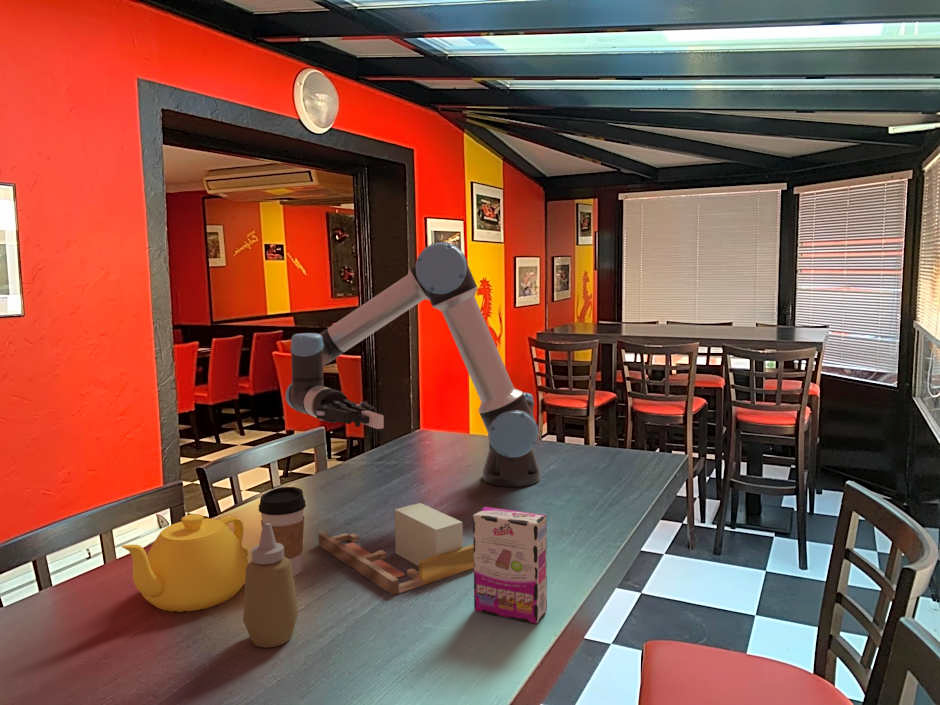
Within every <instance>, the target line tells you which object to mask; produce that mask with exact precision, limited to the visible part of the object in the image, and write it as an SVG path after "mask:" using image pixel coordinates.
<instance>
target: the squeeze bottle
mask: <svg viewBox="0 0 940 705" xmlns="http://www.w3.org/2000/svg"><path fill="white" fill-rule="evenodd" d="M248 563H249V564H248V565H247V567H246V578H245V584H244V596H243V600H244V601H243V613H242V614H243V617H242V618H243V619H242V622H243V624H244V626H245V629H246V631H247V633H248V635H249V637H250V640H251V642H252V644H253V645H254V646H256V647H258V648H265V649H267V648H274V647H278V646H281V645H284V644H286V643H287V642H288V641H290V639H291V638H292V636H293V633H294V629H295V626H296V622H297V619H298V614H299V607H298V600H297V594H296V586H295V580H294V576H293V573H292V566H291V561H290V560H289V559H288V558H286V557H284V546H283V545H282V544H280V543H276V541H275V537H274V534H273V530H272V527H271V524H270V523H265V524H263V526H262V525H261V532H260V539H259V544H257V545H255V546H253V547H252V549H251V561H250V562H248Z"/></svg>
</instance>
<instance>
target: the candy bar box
mask: <svg viewBox="0 0 940 705" xmlns="http://www.w3.org/2000/svg"><path fill="white" fill-rule="evenodd" d="M472 535H473V536H472V538H473V539H472V540H473V542H472V544H473V546H474V568H473V594H474V595H473V598H474V599H473V604H474V605H473V606H474V607H473V608H474V609H473V610H474V611H475V612H478V613H483V614H488V615H493V616H497V617H502V618H506V619H507V618H508V619H512V620H515V621H517V620H518V621H522V622H527V623H531V624H538V623H539V622H540V620H541V619H542V618H543V617H544V615H546V613H547V611H548V610H547V609H548V595H547V590H548V589H547V586H548V585H547V584H548V583H547V580H548V578H547V574H548V572H547V571H548V570H547V567H548V566H547V514H540V513H534V512H525V511H520V510H519V511H518V510H512V509H505V508H498V507H489V506H484V507H482V508H481V509H480V510H478V511H477V512H475V513H474V514H472Z"/></svg>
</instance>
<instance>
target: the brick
mask: <svg viewBox="0 0 940 705" xmlns="http://www.w3.org/2000/svg"><path fill="white" fill-rule="evenodd" d="M463 524H464V523H463V521H461V520H459V519H457V518H455V517H453V516H450V515H447V514H445V513H443V512H441V511H439V510H436V509H434V508H433V507H431V506H428V505H426V504H424V503H422V502H419V503H414V504H409V505H406V506H402V507H399V508H395V509H394V532H395V533H394V536H395V538H394V540H395V543H394V544H395V554H397V555H399V556H400V557H402V558H404V559H406V560H407V561H409V562H410V563H412V564H414V565H415V566H417V567H419V561H422V560H425V559H428V558H431V557H434V556H437V555H441V554H444V553H447V552H450V551H453V550H456V549H460V548H463V547H464V544H463V541H464V540H463V539H464V538H463V532H464V531H463V529H464V527H463Z"/></svg>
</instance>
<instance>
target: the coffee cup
mask: <svg viewBox="0 0 940 705" xmlns="http://www.w3.org/2000/svg"><path fill="white" fill-rule="evenodd" d="M259 500H260V502H259V504H258V512H259V513H260V515H261V516H260V517H261V520H260V525H261V527H262V526H263V524H265V523H270V524H271V527H272V530H273V534H274V537H275V541H276V543H280V544H282V545H283V546H284V557H286V558H288V559H289V560H290V561H291V566H292V573H293V577H295V576H297V575H299V574H300V573H301V571H302V564H303V562H302V561H303V560H302V558H303V546H304V528H305V516H304V509H305V508H306V500H305V498H304V493H303V489H301V488H299V487H296V486H284V487H283V486H282V487H278V488H274V489H271V490H269V491H267V492H264V493H263V494H262V495H261V496H260V498H259Z"/></svg>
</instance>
